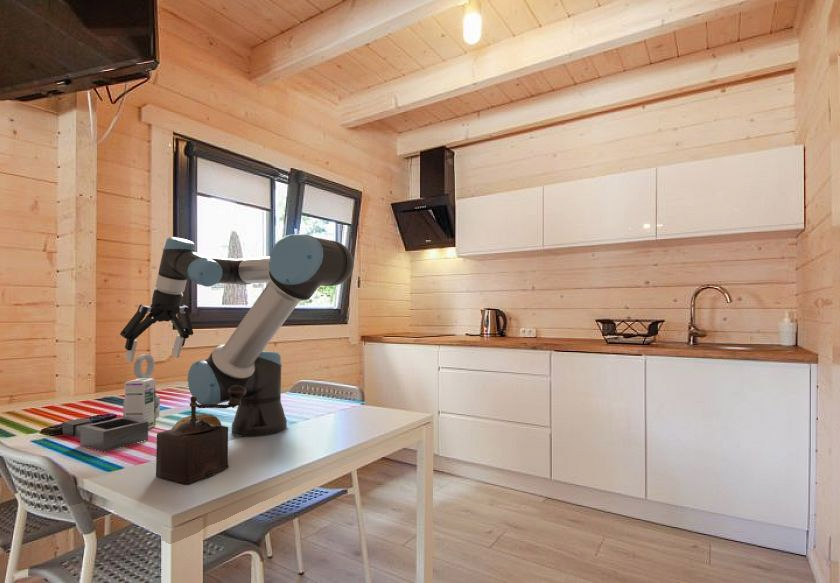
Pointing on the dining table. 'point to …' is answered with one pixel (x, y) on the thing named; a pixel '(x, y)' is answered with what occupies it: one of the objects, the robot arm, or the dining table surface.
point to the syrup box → (141, 400)
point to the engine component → (145, 376)
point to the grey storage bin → (107, 432)
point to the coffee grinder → (195, 445)
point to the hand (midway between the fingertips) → (153, 358)
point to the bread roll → (207, 418)
